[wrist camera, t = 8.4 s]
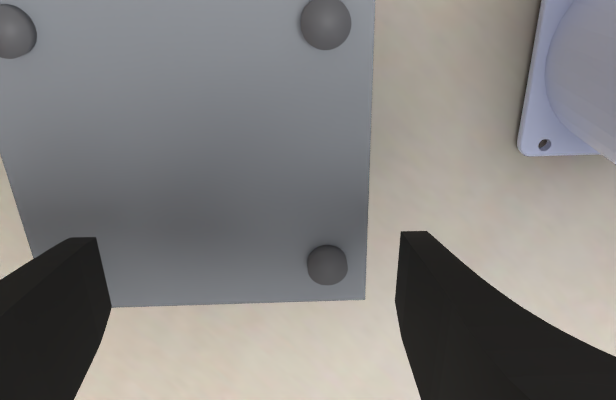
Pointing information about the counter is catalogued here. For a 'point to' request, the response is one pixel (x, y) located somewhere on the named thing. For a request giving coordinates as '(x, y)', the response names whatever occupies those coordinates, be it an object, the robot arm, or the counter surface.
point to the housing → (194, 142)
